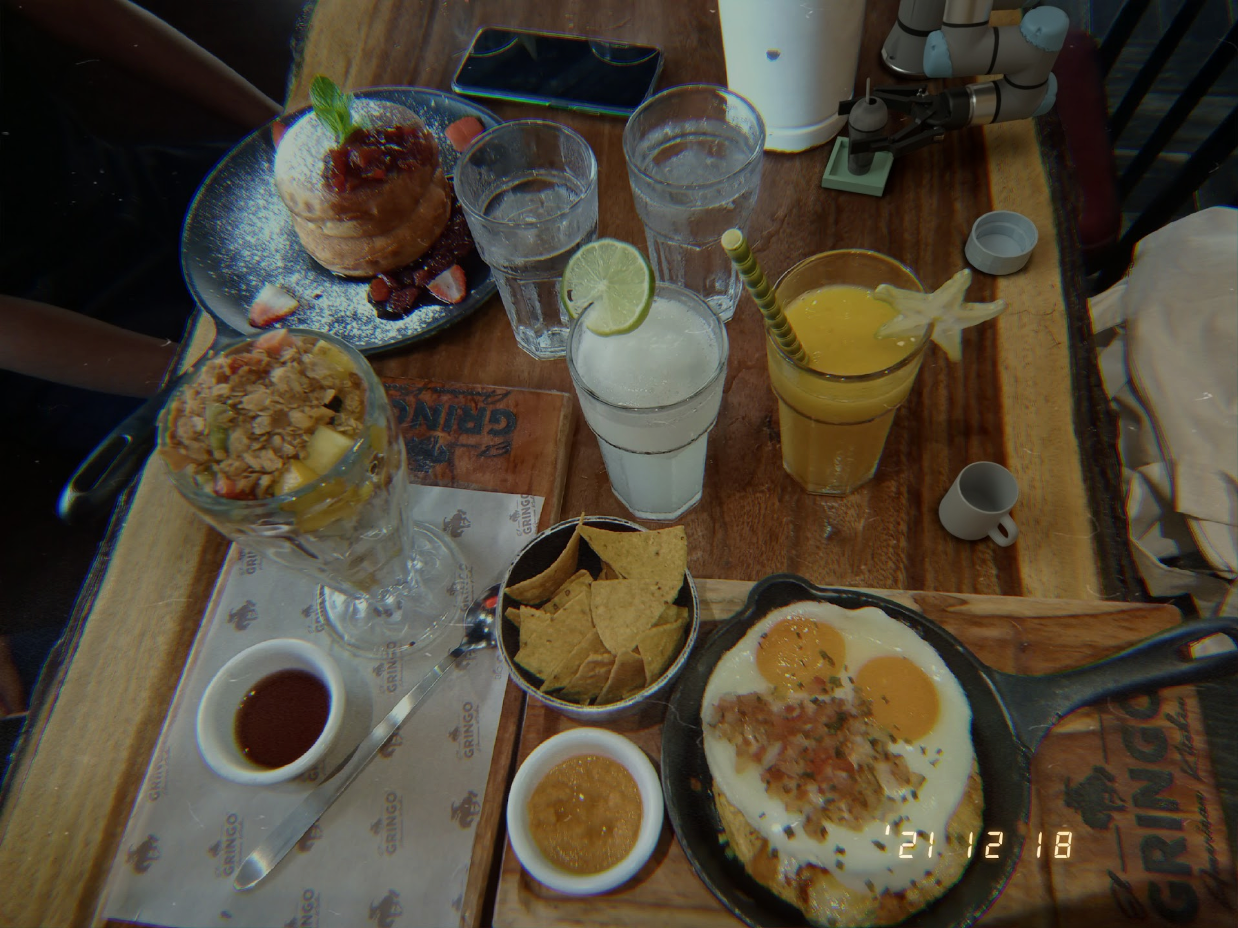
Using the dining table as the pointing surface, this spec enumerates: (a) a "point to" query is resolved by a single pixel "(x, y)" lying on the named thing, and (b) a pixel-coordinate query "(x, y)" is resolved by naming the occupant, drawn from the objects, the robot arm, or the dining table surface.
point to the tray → (865, 184)
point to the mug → (981, 503)
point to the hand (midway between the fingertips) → (844, 128)
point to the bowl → (1001, 242)
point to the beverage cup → (865, 129)
